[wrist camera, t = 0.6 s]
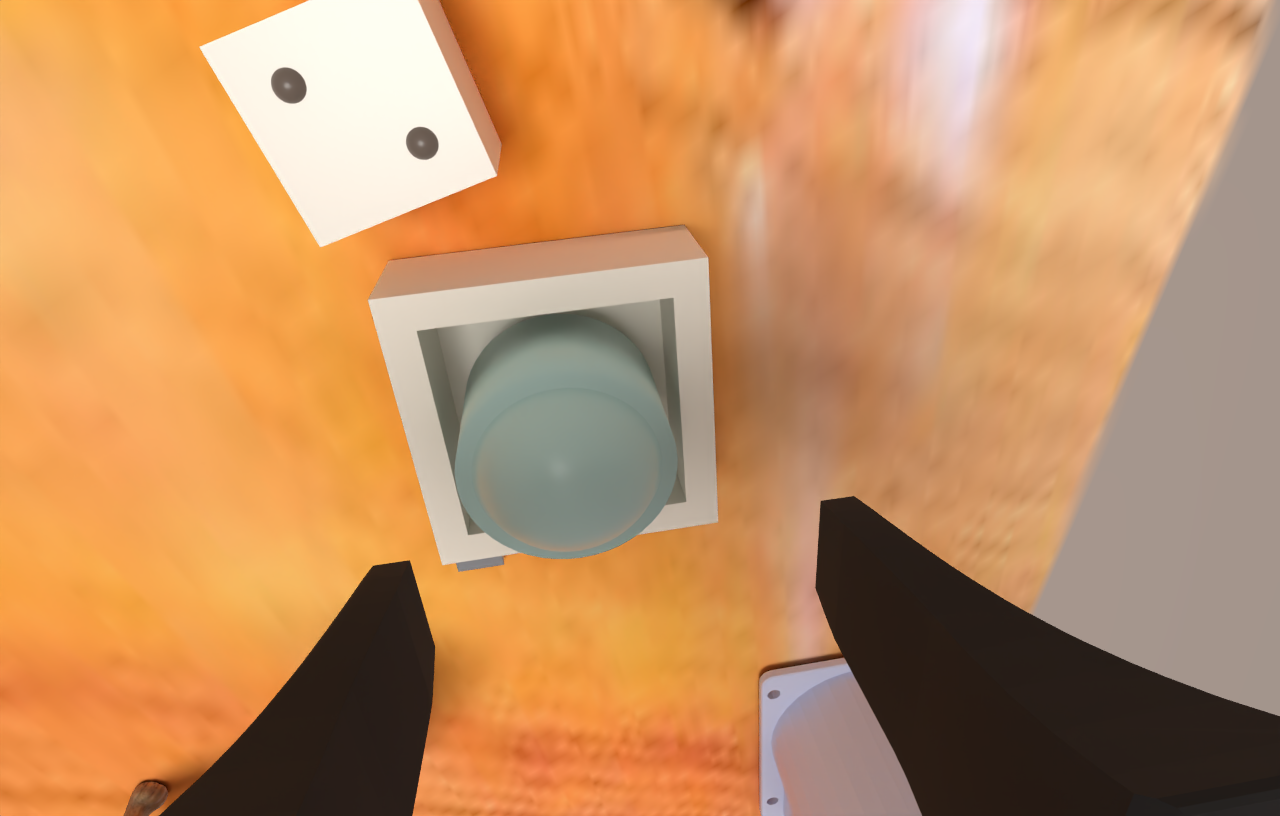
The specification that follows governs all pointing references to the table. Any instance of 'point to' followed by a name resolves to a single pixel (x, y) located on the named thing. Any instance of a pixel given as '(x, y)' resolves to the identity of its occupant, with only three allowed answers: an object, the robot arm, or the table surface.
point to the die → (359, 108)
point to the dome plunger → (563, 439)
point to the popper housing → (535, 286)
